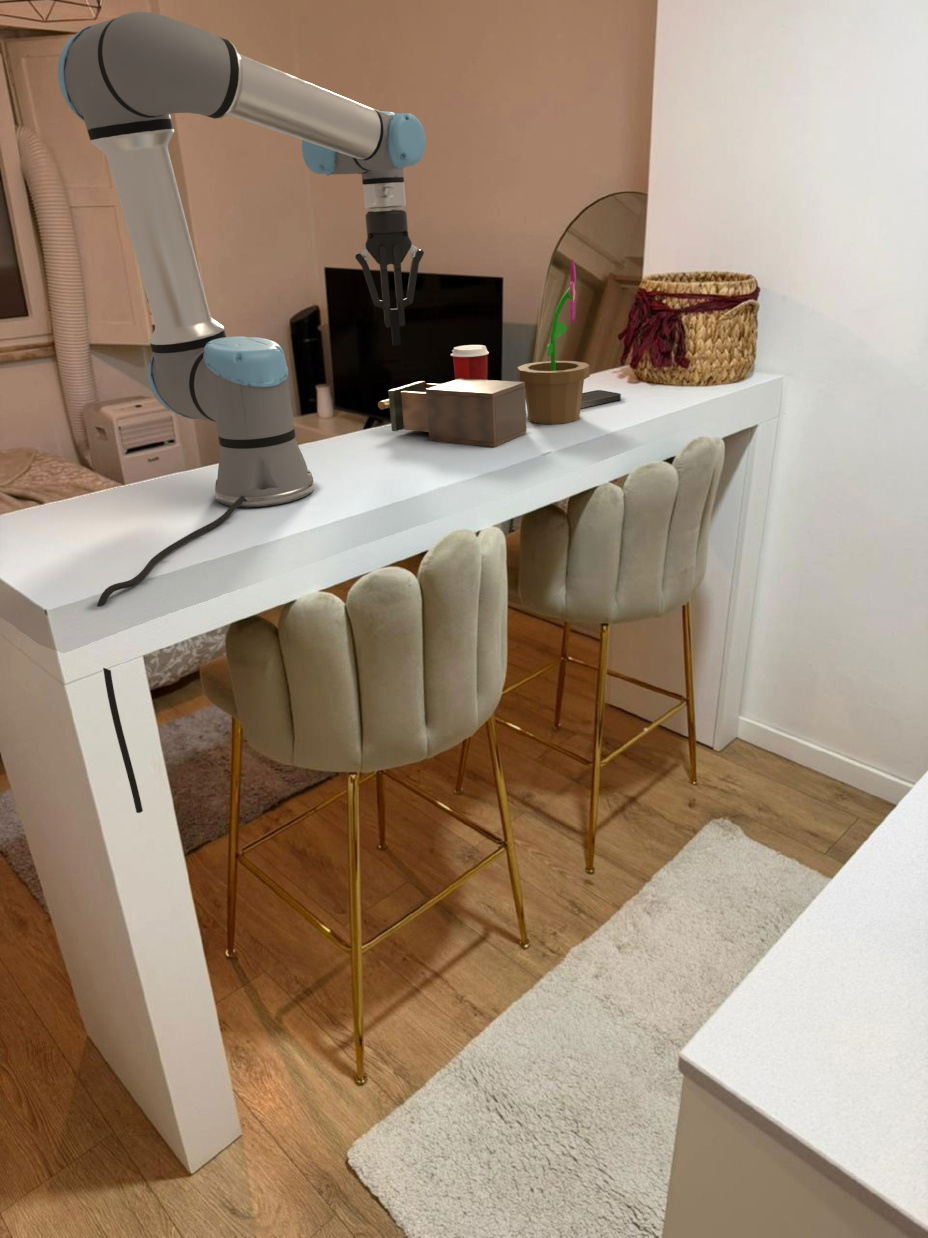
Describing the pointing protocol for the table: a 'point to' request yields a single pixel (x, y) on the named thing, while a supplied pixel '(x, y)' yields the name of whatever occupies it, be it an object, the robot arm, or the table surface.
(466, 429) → the cabinet
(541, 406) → the flowerpot
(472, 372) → the paper cup
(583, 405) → the phone
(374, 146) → the robot arm
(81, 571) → the table surface
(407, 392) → the drawer
